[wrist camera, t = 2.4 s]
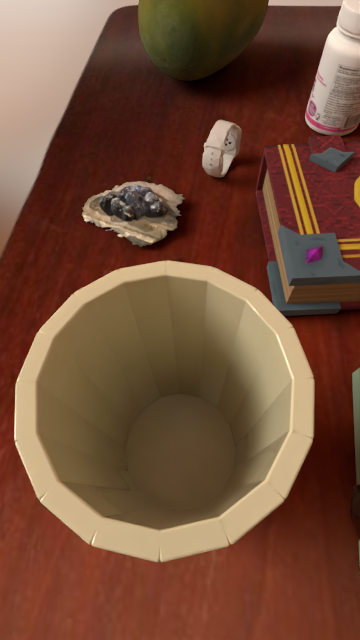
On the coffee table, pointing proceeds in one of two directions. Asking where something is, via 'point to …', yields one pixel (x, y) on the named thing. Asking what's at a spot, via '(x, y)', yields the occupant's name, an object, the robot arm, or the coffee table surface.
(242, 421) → the cup
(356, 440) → the scale
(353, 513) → the robot arm
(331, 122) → the pill bottle
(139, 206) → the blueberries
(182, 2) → the fruit
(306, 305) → the decorative book
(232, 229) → the coffee table surface
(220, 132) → the smartwatch
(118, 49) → the coffee table surface
